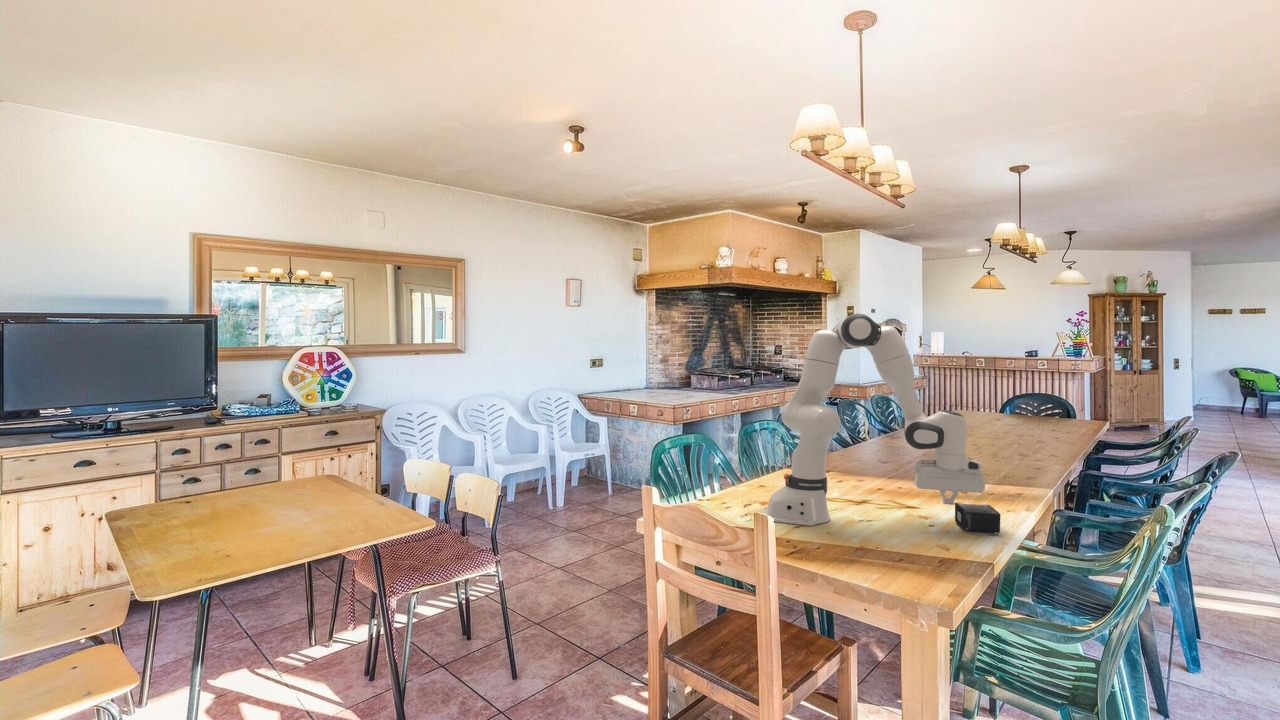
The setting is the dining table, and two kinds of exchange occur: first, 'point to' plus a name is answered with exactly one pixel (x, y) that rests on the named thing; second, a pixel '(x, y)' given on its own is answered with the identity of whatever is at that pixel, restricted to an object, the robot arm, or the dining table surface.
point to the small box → (977, 517)
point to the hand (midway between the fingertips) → (948, 504)
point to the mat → (983, 533)
